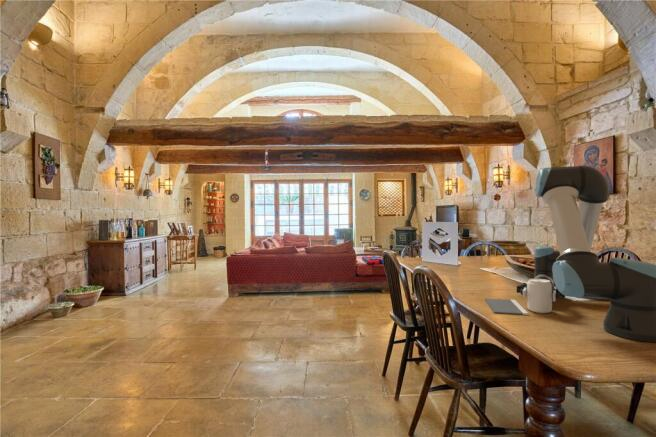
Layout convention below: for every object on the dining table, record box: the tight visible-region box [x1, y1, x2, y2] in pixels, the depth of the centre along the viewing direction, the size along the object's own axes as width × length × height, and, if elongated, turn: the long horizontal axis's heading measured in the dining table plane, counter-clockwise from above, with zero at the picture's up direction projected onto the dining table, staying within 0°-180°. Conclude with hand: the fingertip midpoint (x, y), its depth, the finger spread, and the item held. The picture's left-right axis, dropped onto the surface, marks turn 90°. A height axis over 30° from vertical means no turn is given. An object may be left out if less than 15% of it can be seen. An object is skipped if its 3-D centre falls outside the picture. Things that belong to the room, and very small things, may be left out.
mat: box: [484, 298, 529, 316], centre depth 136 cm, size 20×12×1 cm, turn 164°
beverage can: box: [526, 278, 553, 314], centre depth 130 cm, size 8×8×12 cm
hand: (538, 295), depth 126 cm, fingers open, 9 cm apart
